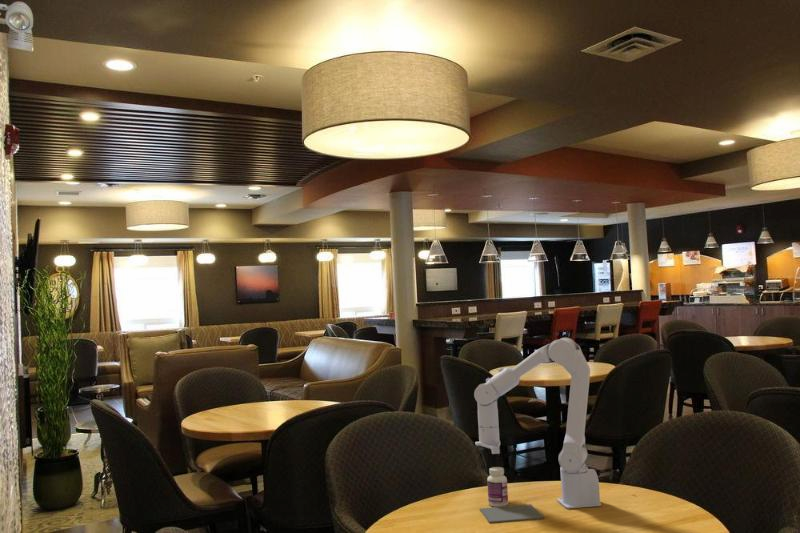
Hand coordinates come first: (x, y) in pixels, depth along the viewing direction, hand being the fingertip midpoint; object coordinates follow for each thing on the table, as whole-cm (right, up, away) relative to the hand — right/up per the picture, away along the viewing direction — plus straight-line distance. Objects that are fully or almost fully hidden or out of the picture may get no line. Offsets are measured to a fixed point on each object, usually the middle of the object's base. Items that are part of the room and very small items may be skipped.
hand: (491, 474), depth 188 cm
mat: (+3, -5, -16) cm, 17 cm away
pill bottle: (+1, -6, -7) cm, 9 cm away
